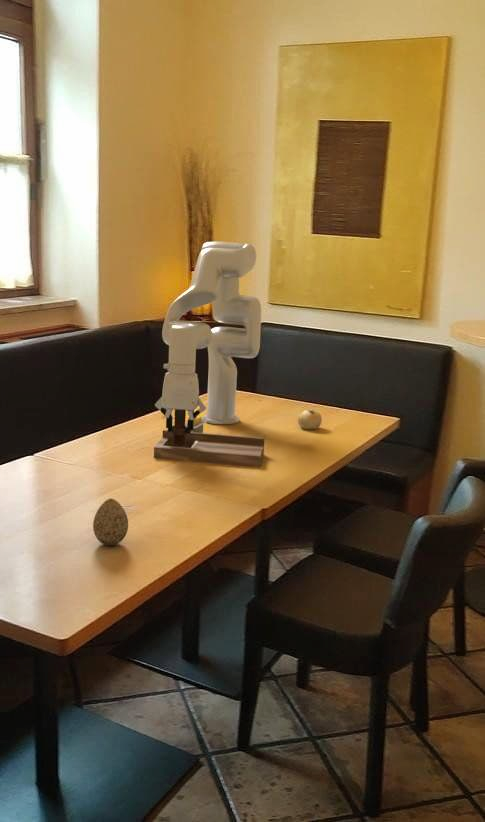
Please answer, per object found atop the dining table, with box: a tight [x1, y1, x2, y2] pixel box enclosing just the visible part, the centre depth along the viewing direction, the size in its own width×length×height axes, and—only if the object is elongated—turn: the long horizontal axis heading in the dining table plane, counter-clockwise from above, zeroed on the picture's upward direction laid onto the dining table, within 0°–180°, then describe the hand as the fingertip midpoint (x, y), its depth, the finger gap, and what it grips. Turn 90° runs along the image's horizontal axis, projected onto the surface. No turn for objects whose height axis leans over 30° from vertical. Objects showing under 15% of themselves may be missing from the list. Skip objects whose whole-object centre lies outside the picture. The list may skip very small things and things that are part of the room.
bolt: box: [171, 410, 187, 446], centre depth 231 cm, size 6×5×15 cm
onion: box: [297, 408, 323, 430], centre depth 269 cm, size 8×8×7 cm
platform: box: [185, 416, 208, 433], centre depth 251 cm, size 12×18×7 cm, turn 159°
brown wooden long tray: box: [153, 429, 265, 468], centre depth 232 cm, size 12×30×5 cm, turn 83°
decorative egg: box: [92, 498, 129, 547], centre depth 167 cm, size 7×7×10 cm
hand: (179, 430), depth 232 cm, fingers closed on bolt, 5 cm apart
